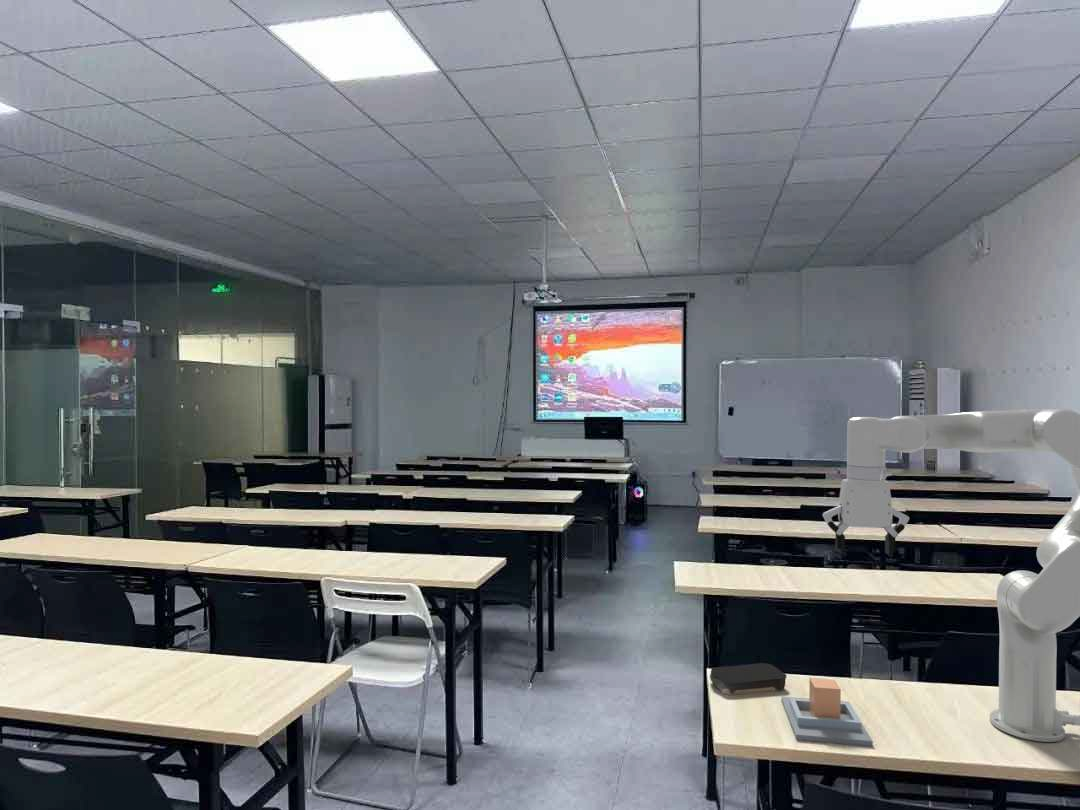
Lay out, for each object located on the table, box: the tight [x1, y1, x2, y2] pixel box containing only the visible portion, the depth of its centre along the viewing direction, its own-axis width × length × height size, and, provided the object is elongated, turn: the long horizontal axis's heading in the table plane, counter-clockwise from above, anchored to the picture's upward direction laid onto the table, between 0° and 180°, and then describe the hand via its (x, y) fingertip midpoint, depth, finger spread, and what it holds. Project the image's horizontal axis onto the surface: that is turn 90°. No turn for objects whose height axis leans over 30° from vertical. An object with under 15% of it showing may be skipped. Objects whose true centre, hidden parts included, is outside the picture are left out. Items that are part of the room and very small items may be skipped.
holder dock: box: [780, 696, 874, 747], centre depth 145 cm, size 14×18×2 cm
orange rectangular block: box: [808, 677, 842, 719], centre depth 145 cm, size 5×5×7 cm
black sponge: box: [709, 662, 788, 696], centre depth 163 cm, size 16×8×4 cm, turn 102°
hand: (864, 553), depth 152 cm, fingers open, 9 cm apart
